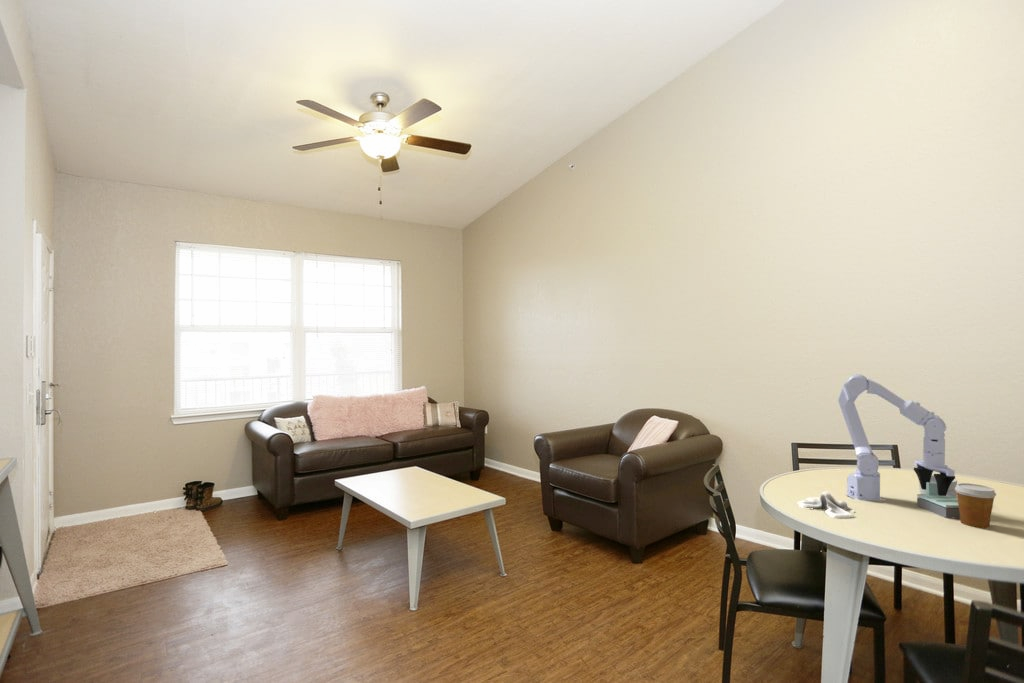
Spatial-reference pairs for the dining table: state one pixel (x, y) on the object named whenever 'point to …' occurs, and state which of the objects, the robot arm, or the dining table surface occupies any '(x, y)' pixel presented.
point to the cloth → (827, 505)
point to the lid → (935, 498)
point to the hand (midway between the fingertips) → (933, 492)
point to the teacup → (950, 491)
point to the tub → (938, 509)
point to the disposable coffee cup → (975, 504)
